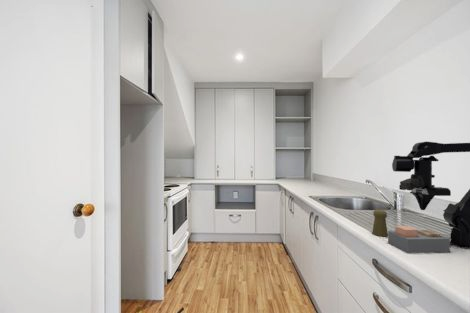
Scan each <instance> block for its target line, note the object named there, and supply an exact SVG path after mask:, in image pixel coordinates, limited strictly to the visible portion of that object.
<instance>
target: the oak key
mask: <svg viewBox="0 0 470 313" xmlns="http://www.w3.org/2000/svg"><path fill="white" fill-rule="evenodd" d="M417 230H418V229H417ZM417 233H418V234H421V235H424V236H426V237H440V236H441V233H438V232H435V231H432V230H429V229H423V230H422V229H419V230H418V231H417Z"/></svg>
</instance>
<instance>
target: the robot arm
mask: <svg viewBox="0 0 470 313" xmlns="http://www.w3.org/2000/svg"><path fill="white" fill-rule="evenodd" d="M443 153H444V154H445V153H470V142H452V143H450V142H449V143H440V142H435V141H434V142H433V141H421V142H416V143H415V144H414V145H413V146H412V150H411V151H410V152H409V153H408V154H407V155H406V156H405V155H403V156H402V155H394V156H393V159H392V160H393V161H392V163H391V168H392V171H393V172H397V173H399V172H400V173H401V172H404V173H406V172H407V173H410V172H411V171H412V170H413V173H412V174H411V175H410V178H406V179H404V180H400V181H399V190H401V191H406V190H407V191H409V193H410V194H411V195H413V196H414V197H415V199H416V201H417V204H418V206H419V210H421V211H425V210H426V209H427V207H428V205H429V204H430V203H431V201H432V200H433V199H434V197H435V196H436V197H439V196H441V197H446V196H447V197H448V196H449V197H450V196H452V195H451V194H452V192H451V189H450V188H448V187H443V186H442V187H441V186H439V187H438V186H435V184H433V181H432V180H433V179H434V178H435V176H436V175H435V174H433V166H432V165H433V162H439V159H438V158H437V157H435V155H439V154H443ZM427 156H428V157H427ZM432 178H433V179H432ZM442 211H443V215H442V216H443V219H444V220H445V221H446V222H447V223H448V225H449V227H451V229H450V231H451V232H450V244H451V245H453V246H457V247H459V248H461V249H470V188H469V189H468V191H467V192H466V193H465V194H464V196H463V197H462V198H461V199H460V201H459V202H456V203H455V204H454V203H451V202H449V204H448V205H447V207H446V208H445V209H444V210H442Z"/></svg>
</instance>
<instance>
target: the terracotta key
mask: <svg viewBox="0 0 470 313" xmlns="http://www.w3.org/2000/svg"><path fill="white" fill-rule="evenodd" d="M395 231H396V234H398V235H400V236H403V237H417V231H418V229H416V228H413V227H411V226H408V225H396V226H395Z"/></svg>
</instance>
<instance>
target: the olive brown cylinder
mask: <svg viewBox="0 0 470 313" xmlns="http://www.w3.org/2000/svg"><path fill="white" fill-rule="evenodd" d="M372 212H373V217H374V220H373V226H372V230H371V231H372V235H373V236H377V237H381V238H385V237H387V238H388V227H387V220H386V218H387V217H388V213H387V211H386V210H382V209H374V210H373V211H372Z"/></svg>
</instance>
